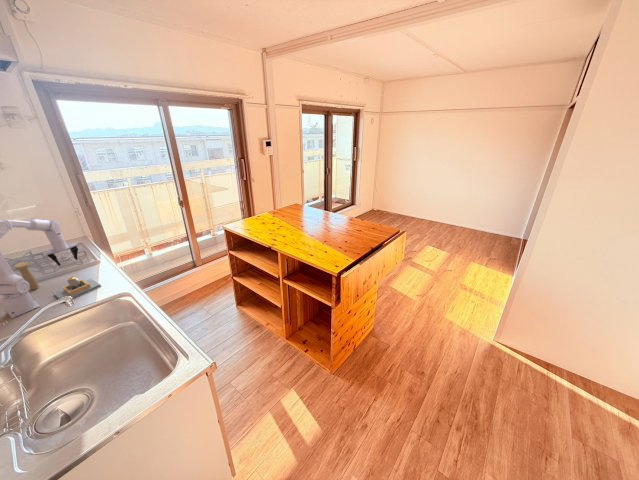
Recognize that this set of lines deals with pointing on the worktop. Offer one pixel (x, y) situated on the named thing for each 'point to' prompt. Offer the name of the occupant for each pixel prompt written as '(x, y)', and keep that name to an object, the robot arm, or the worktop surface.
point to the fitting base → (78, 289)
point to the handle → (27, 274)
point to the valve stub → (74, 283)
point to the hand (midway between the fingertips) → (68, 262)
